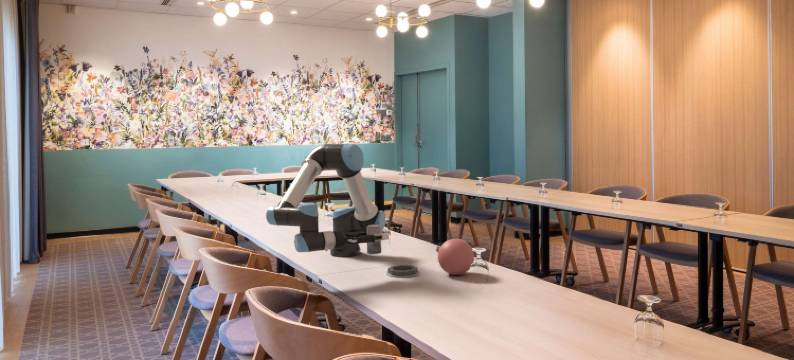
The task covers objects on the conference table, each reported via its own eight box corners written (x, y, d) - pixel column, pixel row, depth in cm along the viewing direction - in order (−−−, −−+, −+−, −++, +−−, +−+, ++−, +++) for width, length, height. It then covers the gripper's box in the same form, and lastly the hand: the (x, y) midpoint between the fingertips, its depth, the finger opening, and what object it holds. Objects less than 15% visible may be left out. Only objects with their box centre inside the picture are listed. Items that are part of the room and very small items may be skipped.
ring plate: (381, 271, 270) (381, 266, 270) (410, 268, 276) (410, 262, 275) (394, 279, 257) (394, 273, 257) (424, 275, 263) (424, 269, 263)
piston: (364, 251, 261) (364, 225, 260) (378, 250, 263) (377, 224, 262) (370, 254, 255) (369, 227, 254) (383, 253, 258) (383, 226, 257)
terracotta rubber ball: (452, 266, 278) (452, 232, 276) (481, 275, 261) (481, 239, 260) (424, 271, 270) (424, 236, 268) (452, 281, 253) (452, 243, 251)
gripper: (326, 244, 260) (377, 239, 270) (340, 253, 243) (394, 247, 253) (325, 227, 260) (376, 222, 269) (340, 234, 242) (394, 229, 252)
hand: (385, 234), depth 261 cm, fingers closed on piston, 6 cm apart
